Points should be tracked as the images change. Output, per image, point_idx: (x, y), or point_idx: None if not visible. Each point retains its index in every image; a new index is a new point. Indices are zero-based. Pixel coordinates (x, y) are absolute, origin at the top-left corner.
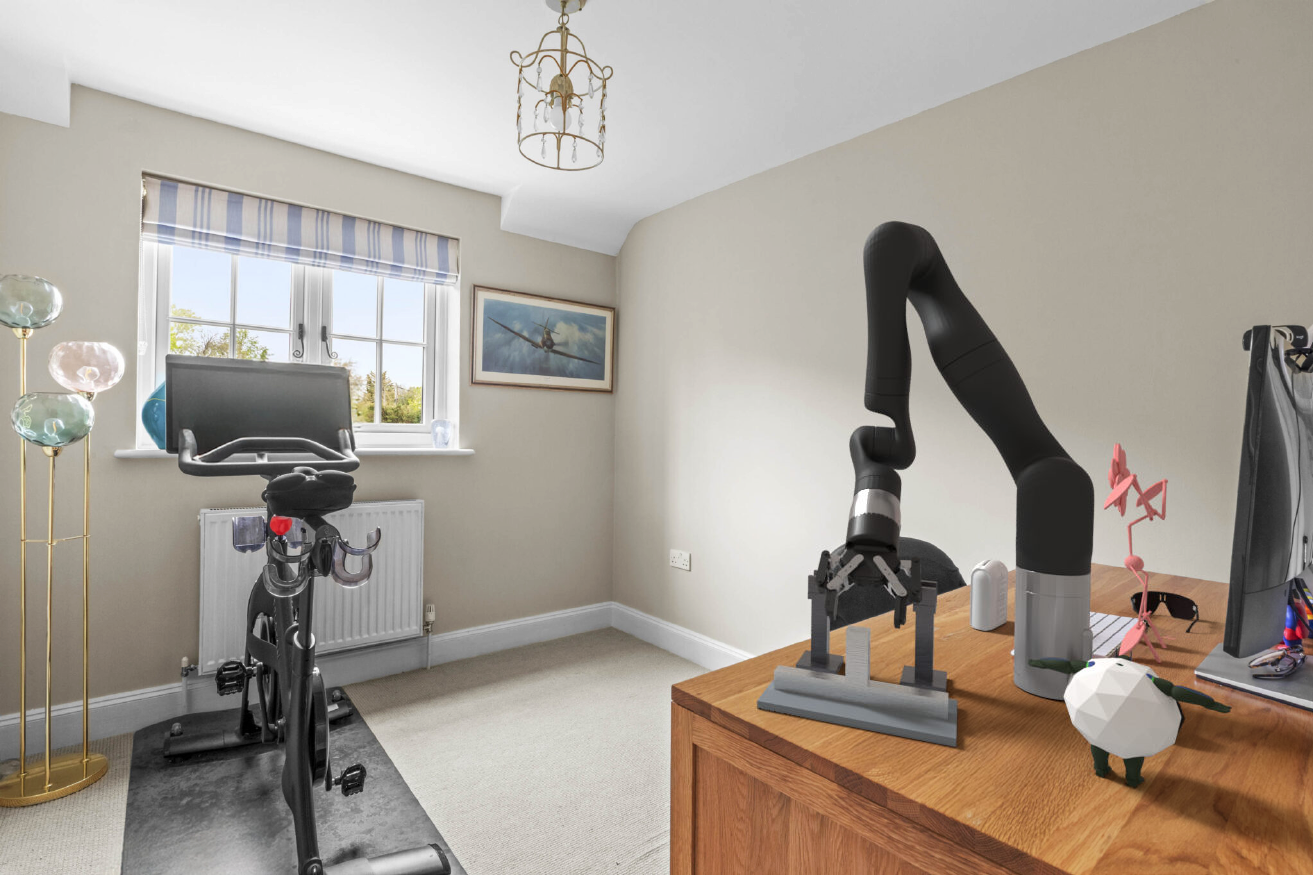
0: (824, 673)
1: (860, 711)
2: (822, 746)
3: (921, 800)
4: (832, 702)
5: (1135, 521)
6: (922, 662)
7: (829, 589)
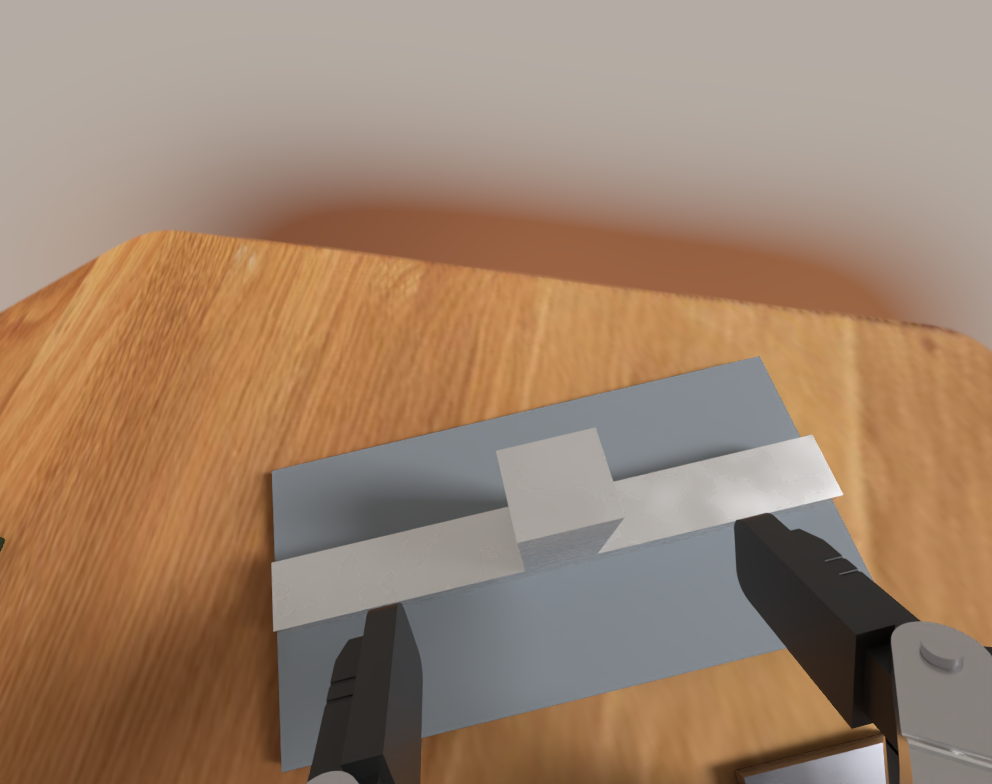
0: (675, 526)
1: None
2: (528, 303)
3: (322, 253)
4: None
5: None
6: None
7: (920, 626)
